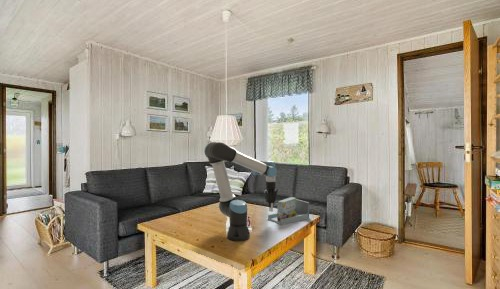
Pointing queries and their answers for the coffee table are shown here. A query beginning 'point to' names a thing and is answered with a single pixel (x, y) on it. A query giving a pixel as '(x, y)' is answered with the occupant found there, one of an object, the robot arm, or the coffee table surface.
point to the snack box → (286, 208)
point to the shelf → (301, 214)
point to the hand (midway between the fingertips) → (271, 211)
